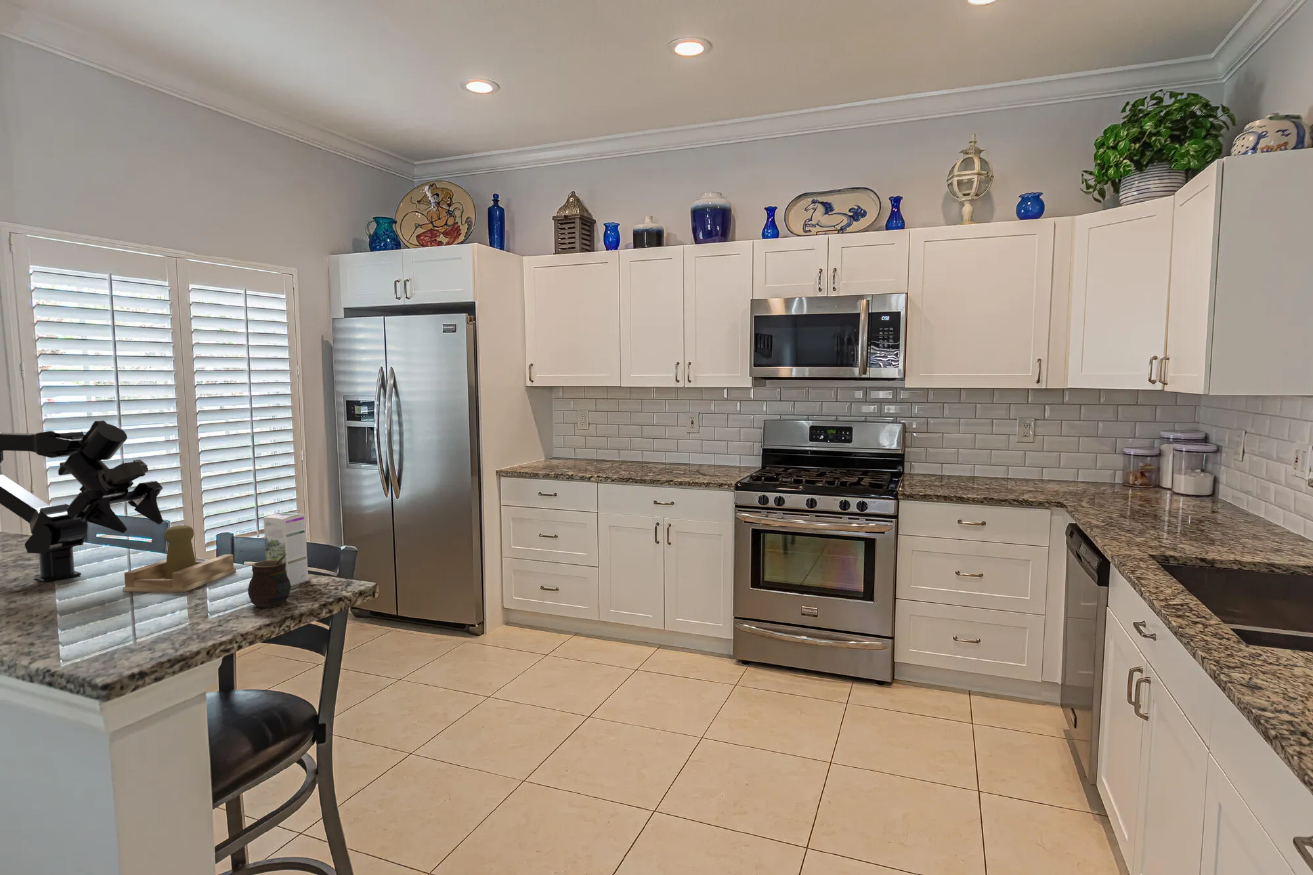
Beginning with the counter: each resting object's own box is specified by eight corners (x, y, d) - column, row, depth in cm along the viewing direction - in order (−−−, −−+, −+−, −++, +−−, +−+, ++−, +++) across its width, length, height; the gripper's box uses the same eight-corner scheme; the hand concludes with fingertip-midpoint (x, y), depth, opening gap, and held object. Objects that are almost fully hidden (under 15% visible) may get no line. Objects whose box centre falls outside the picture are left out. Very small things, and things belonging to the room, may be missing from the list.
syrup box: (309, 580, 151) (306, 512, 150) (286, 587, 146) (283, 517, 145) (288, 578, 153) (285, 511, 152) (265, 585, 148) (262, 516, 147)
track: (179, 570, 160) (179, 554, 160) (236, 571, 159) (235, 554, 159) (123, 591, 144) (121, 572, 144) (185, 591, 143) (184, 573, 143)
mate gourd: (264, 598, 139) (263, 547, 138) (301, 599, 138) (300, 548, 137) (239, 609, 131) (237, 556, 131) (277, 611, 131) (276, 557, 130)
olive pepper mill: (194, 579, 150) (191, 527, 149) (160, 582, 148) (157, 529, 147) (202, 572, 155) (199, 522, 155) (169, 574, 154) (166, 524, 153)
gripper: (75, 452, 142) (128, 508, 142) (152, 445, 161) (200, 494, 160) (43, 491, 144) (95, 546, 143) (123, 479, 162) (170, 528, 162)
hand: (143, 527), depth 152 cm, fingers open, 9 cm apart
